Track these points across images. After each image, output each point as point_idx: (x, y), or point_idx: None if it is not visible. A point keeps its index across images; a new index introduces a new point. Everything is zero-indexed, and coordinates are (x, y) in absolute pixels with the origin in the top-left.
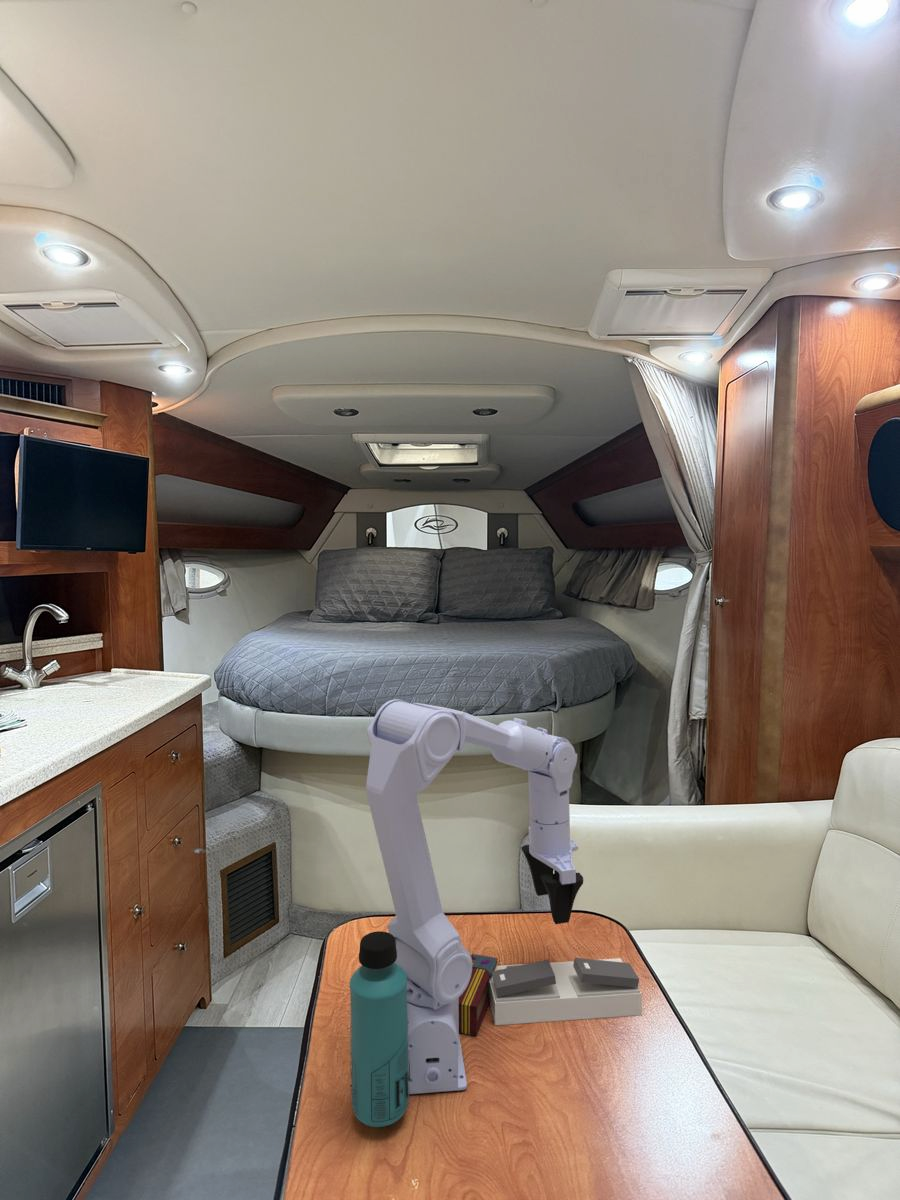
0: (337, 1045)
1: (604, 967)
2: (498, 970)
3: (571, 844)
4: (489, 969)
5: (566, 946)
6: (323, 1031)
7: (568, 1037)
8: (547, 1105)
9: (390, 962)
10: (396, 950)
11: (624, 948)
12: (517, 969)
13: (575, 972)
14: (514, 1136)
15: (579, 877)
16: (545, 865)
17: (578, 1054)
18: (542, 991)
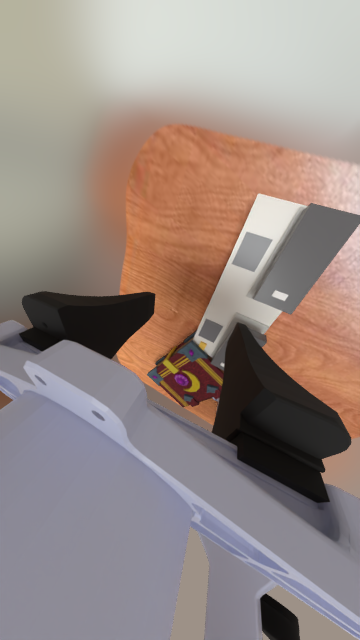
0: (202, 411)
1: (296, 266)
2: (212, 360)
3: (86, 416)
4: (202, 356)
5: (172, 235)
6: (190, 408)
7: (289, 324)
8: (336, 383)
9: (298, 625)
10: (288, 623)
11: (205, 143)
12: (224, 353)
13: (243, 282)
14: (335, 410)
15: (318, 430)
16: (115, 324)
17: (315, 331)
18: None
